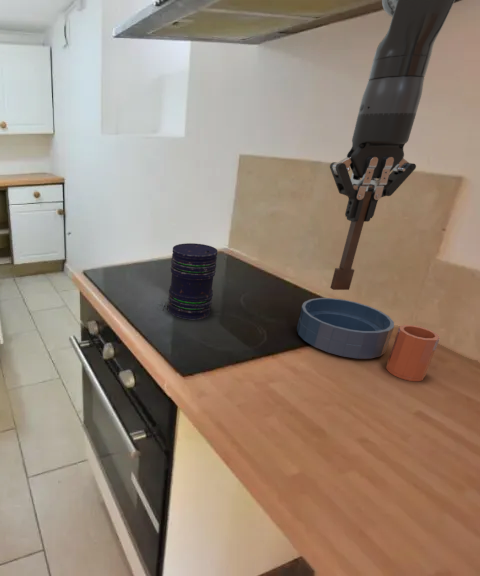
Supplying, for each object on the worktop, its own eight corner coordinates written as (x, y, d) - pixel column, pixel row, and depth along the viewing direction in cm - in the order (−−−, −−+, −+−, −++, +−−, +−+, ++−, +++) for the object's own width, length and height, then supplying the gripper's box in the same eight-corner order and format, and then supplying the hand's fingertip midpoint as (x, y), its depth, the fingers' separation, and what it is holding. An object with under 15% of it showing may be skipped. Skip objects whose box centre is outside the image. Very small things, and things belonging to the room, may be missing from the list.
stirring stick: (345, 287, 72) (371, 190, 65) (349, 290, 71) (377, 191, 64) (329, 287, 72) (354, 190, 65) (333, 290, 71) (359, 191, 64)
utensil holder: (408, 364, 68) (422, 324, 65) (431, 381, 64) (448, 340, 61) (379, 364, 68) (392, 324, 65) (400, 381, 64) (415, 340, 61)
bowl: (352, 322, 83) (359, 297, 81) (404, 361, 69) (415, 332, 67) (283, 322, 83) (288, 297, 81) (321, 361, 69) (328, 332, 67)
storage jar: (160, 312, 88) (164, 250, 82) (177, 298, 96) (182, 241, 90) (202, 323, 83) (209, 258, 77) (216, 307, 90) (224, 247, 85)
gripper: (358, 110, 56) (331, 225, 63) (450, 110, 56) (413, 225, 63) (330, 112, 63) (307, 216, 70) (411, 113, 63) (381, 216, 70)
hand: (357, 220), depth 66 cm, fingers closed on stirring stick, 1 cm apart
